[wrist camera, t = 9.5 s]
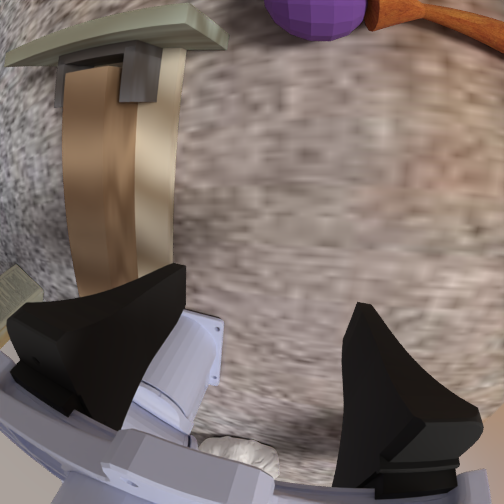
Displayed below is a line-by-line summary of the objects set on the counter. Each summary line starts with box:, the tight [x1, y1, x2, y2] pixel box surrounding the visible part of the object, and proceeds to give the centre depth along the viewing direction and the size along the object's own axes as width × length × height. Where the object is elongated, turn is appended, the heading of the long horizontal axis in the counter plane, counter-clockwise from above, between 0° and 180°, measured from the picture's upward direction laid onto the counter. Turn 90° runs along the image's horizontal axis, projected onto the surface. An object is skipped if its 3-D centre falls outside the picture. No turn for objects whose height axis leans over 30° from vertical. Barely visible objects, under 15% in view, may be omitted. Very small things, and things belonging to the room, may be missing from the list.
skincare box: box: [0, 264, 44, 349], centre depth 27 cm, size 6×4×12 cm
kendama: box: [264, 0, 504, 54], centre depth 11 cm, size 6×6×20 cm
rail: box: [62, 66, 138, 297], centre depth 20 cm, size 18×4×4 cm, turn 173°
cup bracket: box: [4, 3, 229, 278], centre depth 19 cm, size 23×16×7 cm
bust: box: [198, 436, 280, 479], centre depth 33 cm, size 12×8×11 cm
